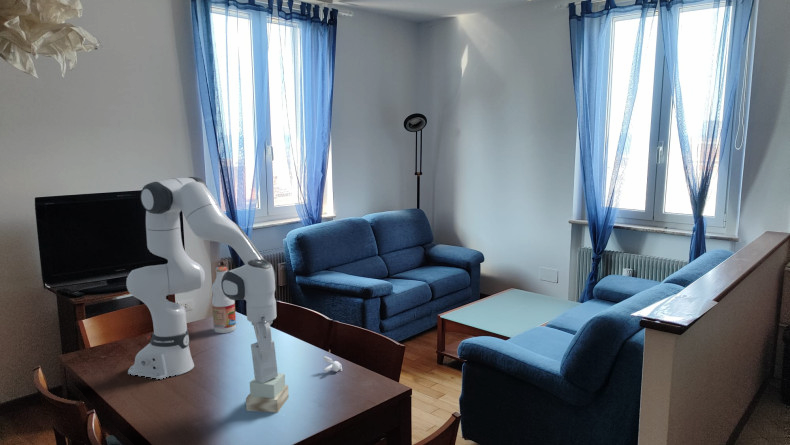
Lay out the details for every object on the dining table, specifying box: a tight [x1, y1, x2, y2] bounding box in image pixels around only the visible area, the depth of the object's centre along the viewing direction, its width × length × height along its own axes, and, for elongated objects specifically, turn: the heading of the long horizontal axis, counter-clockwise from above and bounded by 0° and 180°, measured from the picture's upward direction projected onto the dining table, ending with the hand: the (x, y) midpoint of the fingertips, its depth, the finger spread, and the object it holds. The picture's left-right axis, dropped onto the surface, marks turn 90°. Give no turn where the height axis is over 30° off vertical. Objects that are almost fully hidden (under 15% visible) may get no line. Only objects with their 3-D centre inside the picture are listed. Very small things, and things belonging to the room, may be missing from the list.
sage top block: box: [249, 372, 286, 399], centre depth 169 cm, size 8×8×4 cm
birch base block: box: [245, 384, 290, 413], centre depth 170 cm, size 10×10×4 cm
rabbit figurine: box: [322, 355, 343, 373], centre depth 193 cm, size 6×4×8 cm
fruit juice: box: [211, 266, 237, 334], centre depth 235 cm, size 9×9×28 cm
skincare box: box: [250, 340, 279, 383], centre depth 167 cm, size 6×4×12 cm
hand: (263, 355), depth 168 cm, fingers open, 8 cm apart
